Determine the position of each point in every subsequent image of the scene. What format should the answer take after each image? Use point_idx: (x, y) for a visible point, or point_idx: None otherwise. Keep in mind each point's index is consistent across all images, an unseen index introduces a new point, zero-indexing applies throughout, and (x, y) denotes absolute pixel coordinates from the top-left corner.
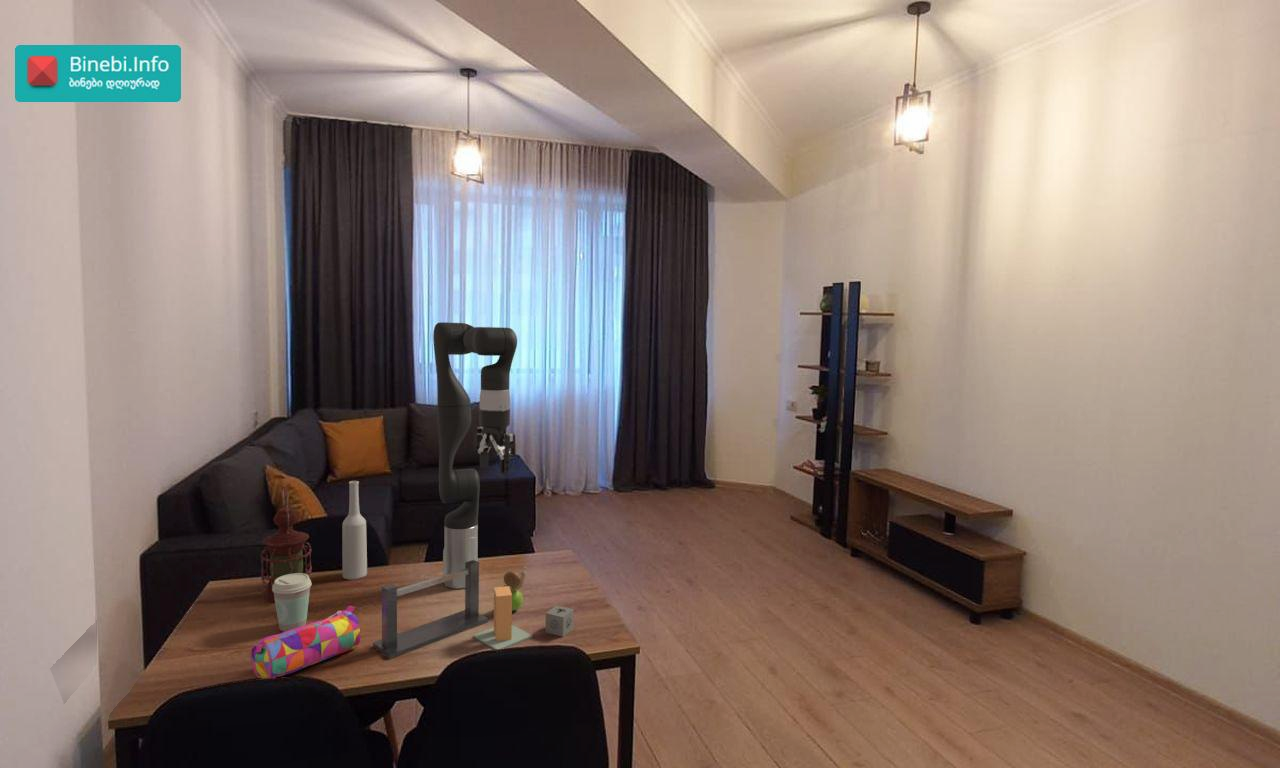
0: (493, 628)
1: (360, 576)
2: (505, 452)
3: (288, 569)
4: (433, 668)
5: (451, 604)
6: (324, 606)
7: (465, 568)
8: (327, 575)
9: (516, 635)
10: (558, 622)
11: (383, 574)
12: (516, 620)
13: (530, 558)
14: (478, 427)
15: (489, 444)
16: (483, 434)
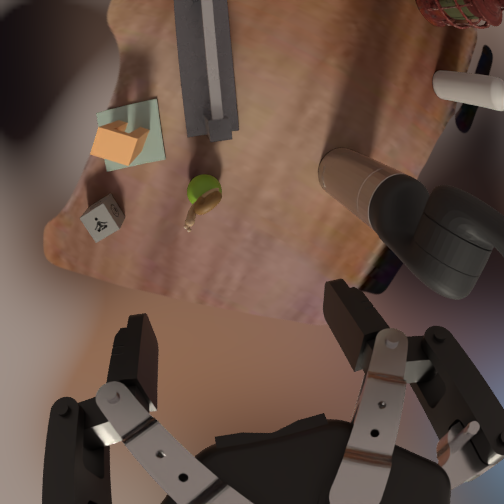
0: (157, 132)
1: (434, 83)
2: (69, 431)
3: None
4: (110, 27)
5: (281, 121)
6: (383, 5)
7: (227, 117)
8: (456, 65)
9: None
10: (88, 210)
11: (426, 109)
12: (166, 175)
13: None
14: (498, 461)
15: (298, 440)
16: (416, 470)
